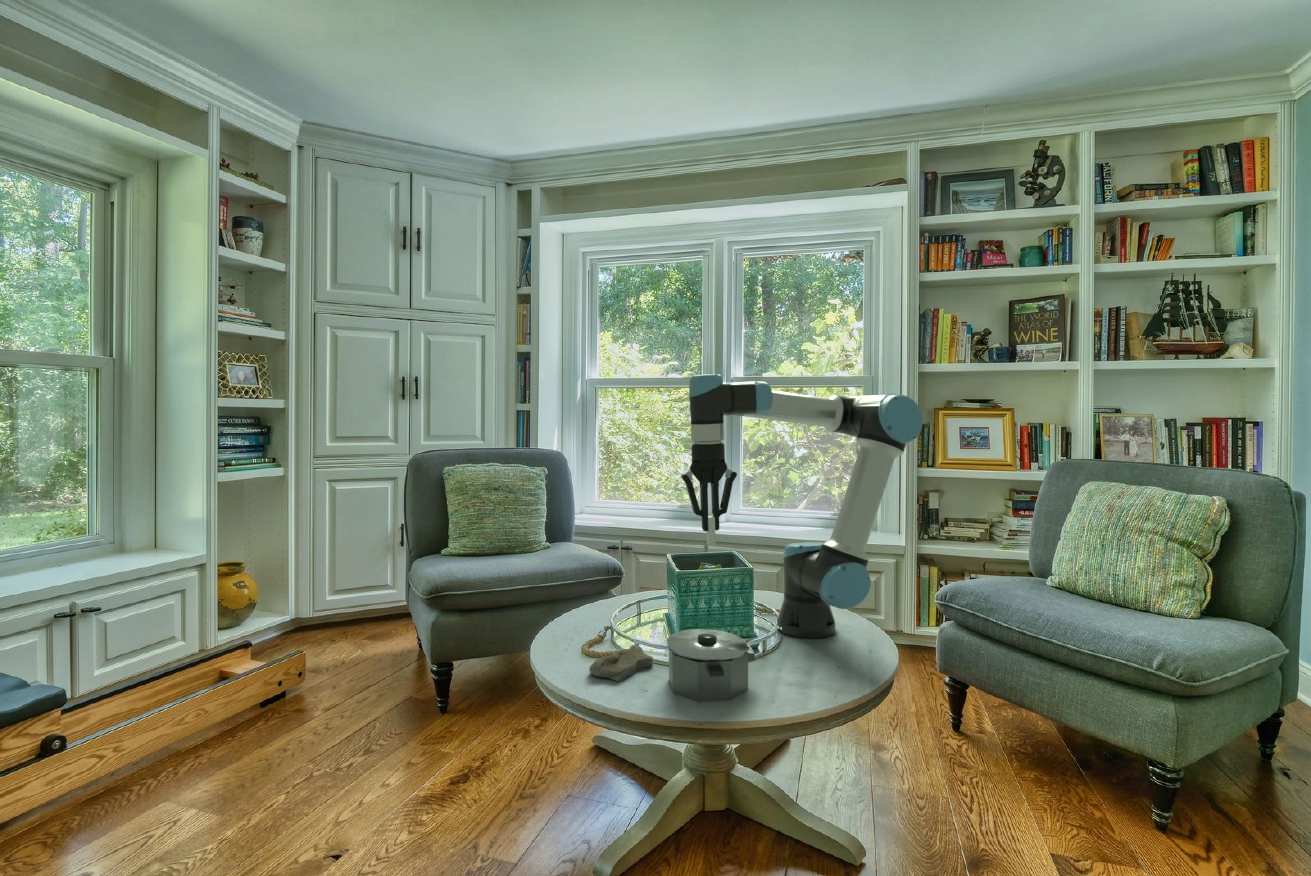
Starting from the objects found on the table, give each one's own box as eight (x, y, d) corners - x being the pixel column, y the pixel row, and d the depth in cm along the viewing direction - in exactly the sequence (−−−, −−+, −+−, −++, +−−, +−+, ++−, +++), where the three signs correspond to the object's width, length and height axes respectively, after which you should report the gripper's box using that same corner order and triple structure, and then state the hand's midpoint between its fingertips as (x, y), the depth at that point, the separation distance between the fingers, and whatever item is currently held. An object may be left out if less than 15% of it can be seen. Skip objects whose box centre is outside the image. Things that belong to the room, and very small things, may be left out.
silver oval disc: (737, 632, 154) (738, 624, 154) (756, 660, 137) (756, 651, 137) (663, 632, 152) (663, 623, 152) (672, 661, 135) (672, 651, 135)
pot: (741, 663, 156) (741, 629, 156) (764, 703, 135) (764, 664, 135) (665, 666, 155) (665, 632, 154) (677, 707, 134) (676, 668, 133)
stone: (627, 656, 162) (627, 639, 162) (658, 667, 156) (658, 649, 156) (582, 675, 151) (582, 657, 151) (612, 687, 145) (612, 668, 144)
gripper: (731, 440, 159) (734, 539, 160) (676, 442, 157) (680, 543, 158) (739, 442, 151) (743, 546, 153) (682, 444, 150) (686, 550, 151)
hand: (711, 544), depth 156 cm, fingers closed
